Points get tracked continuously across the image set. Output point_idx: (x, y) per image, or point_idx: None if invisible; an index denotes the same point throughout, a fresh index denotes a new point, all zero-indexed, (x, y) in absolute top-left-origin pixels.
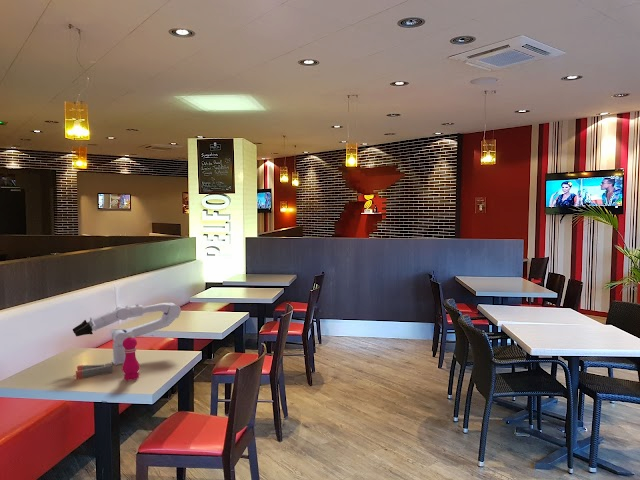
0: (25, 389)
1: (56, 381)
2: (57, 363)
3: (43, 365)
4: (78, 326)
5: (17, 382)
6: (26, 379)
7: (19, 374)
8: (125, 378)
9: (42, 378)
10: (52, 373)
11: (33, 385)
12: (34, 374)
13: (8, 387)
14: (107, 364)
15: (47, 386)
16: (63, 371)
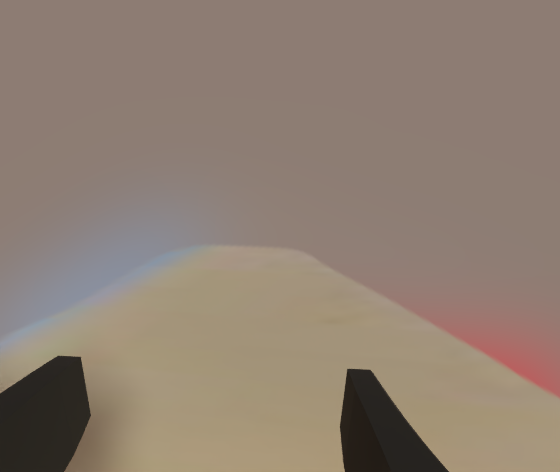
0: (109, 286)
1: (90, 402)
2: (505, 460)
3: (482, 380)
4: (378, 457)
5: (238, 273)
6: (256, 299)
7: (358, 285)
8: None
9: (215, 351)
10: (274, 403)
11: (135, 312)
12: (318, 329)
13: (197, 250)
14: None
15: (52, 355)
16: (271, 469)
